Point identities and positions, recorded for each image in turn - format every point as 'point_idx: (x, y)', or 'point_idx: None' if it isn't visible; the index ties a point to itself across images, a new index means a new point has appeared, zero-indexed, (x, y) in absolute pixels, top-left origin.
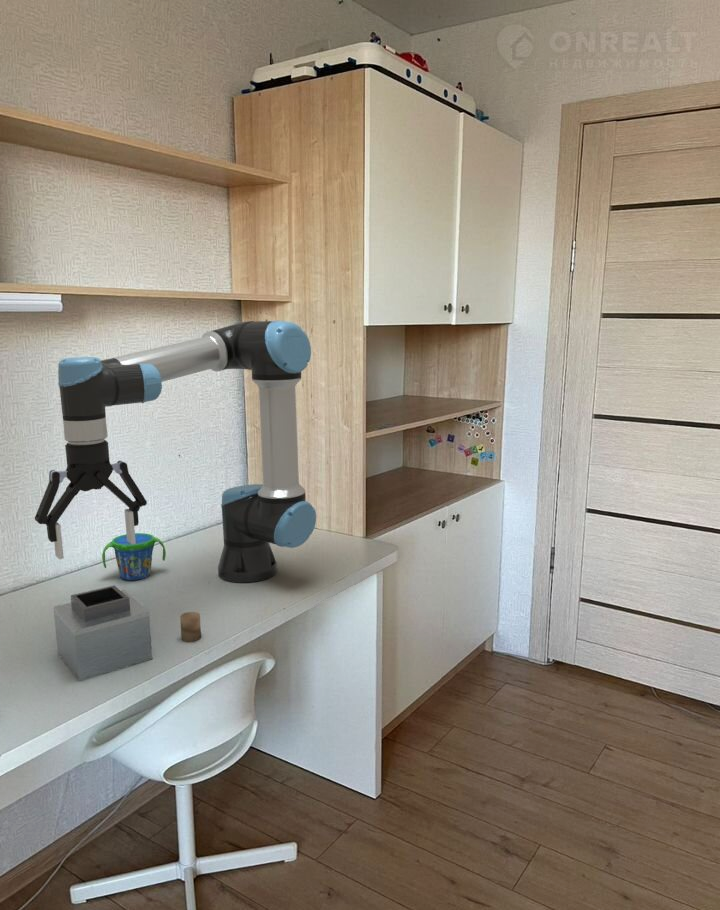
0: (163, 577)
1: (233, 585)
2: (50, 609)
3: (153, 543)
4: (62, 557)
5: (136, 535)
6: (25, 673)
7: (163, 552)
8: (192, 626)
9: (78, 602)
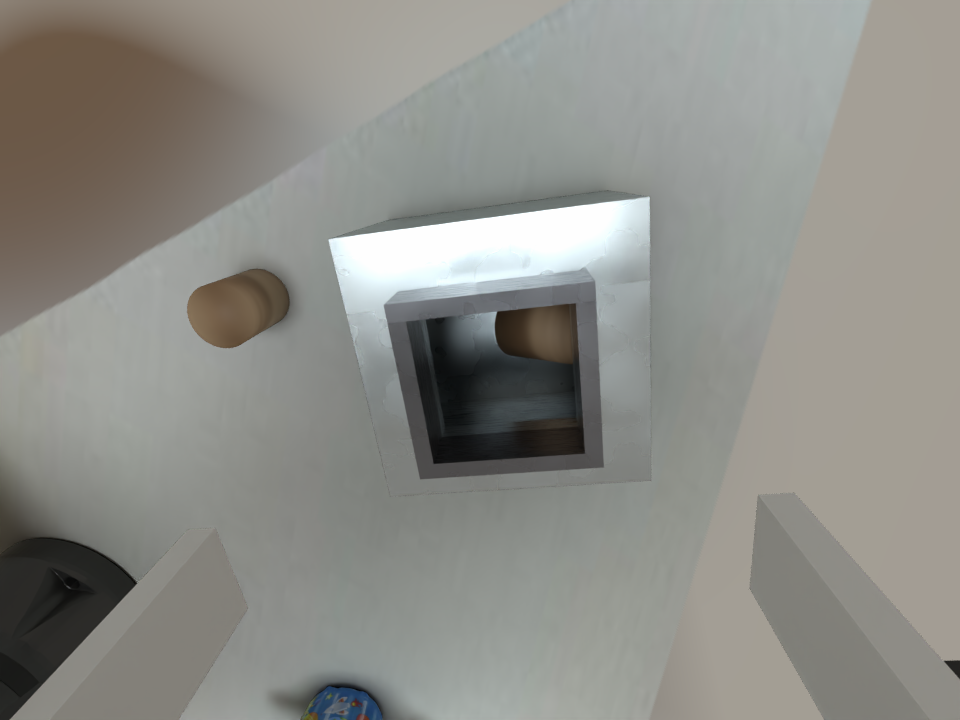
0: (285, 671)
1: (117, 548)
2: (569, 641)
3: None
4: (774, 501)
5: None
6: (722, 325)
7: None
8: (230, 279)
9: (595, 375)
